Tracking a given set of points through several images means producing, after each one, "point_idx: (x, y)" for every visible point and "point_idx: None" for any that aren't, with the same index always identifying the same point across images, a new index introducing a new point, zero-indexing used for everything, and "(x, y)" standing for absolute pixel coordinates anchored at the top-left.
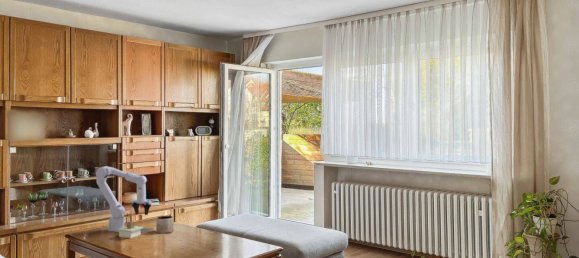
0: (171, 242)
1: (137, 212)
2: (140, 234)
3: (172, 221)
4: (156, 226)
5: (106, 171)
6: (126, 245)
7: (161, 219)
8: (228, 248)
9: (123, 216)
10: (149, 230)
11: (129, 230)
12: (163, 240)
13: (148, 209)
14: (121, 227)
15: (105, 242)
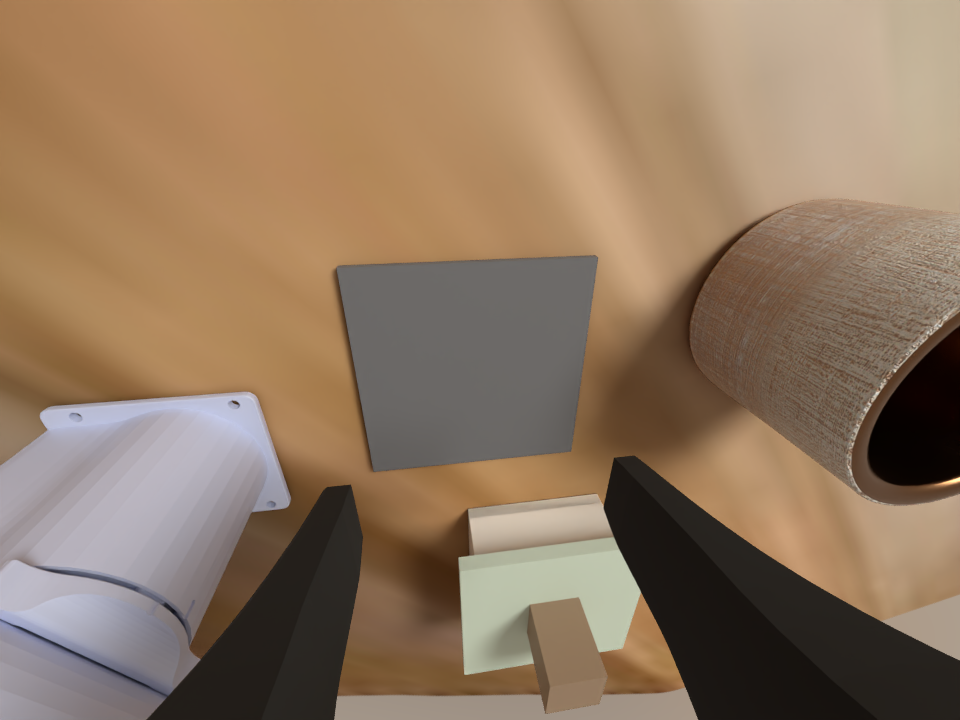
0: (896, 515)
1: (348, 546)
2: (600, 504)
3: None
4: (747, 407)
5: None
6: (640, 641)
7: (939, 496)
8: None
9: (164, 621)
10: (583, 344)
11: (599, 651)
12: (832, 507)
13: (746, 564)
14: (255, 498)
15: None
